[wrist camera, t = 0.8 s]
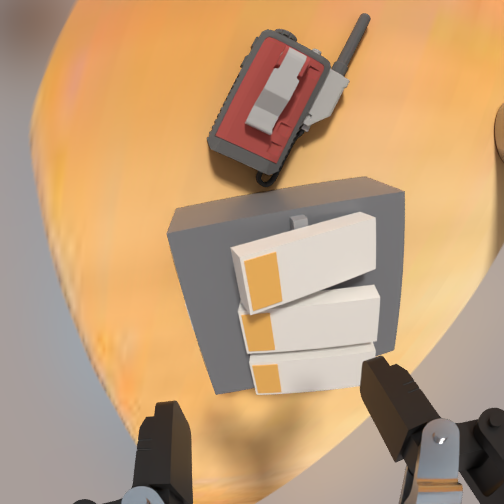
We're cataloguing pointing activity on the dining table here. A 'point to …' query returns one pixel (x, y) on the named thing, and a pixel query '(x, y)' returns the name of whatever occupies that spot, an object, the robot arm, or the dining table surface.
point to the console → (265, 225)
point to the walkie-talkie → (279, 99)
